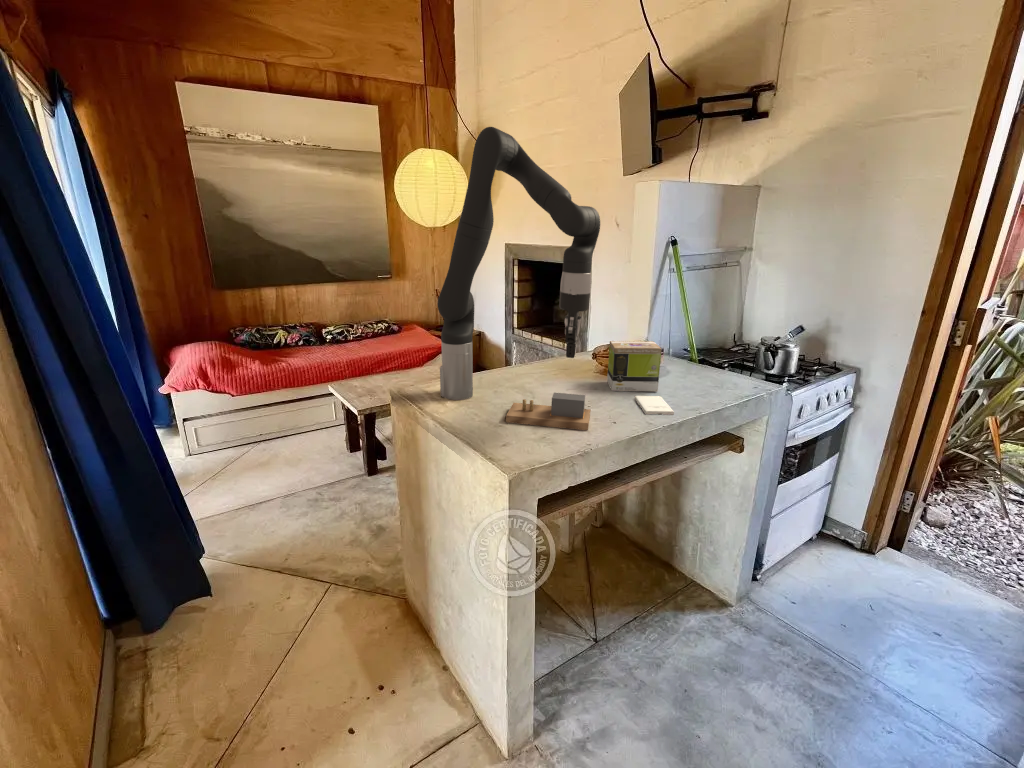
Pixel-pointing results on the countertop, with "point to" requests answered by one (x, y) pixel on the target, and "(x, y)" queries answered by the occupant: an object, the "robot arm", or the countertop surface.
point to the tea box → (634, 366)
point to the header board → (544, 416)
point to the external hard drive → (654, 405)
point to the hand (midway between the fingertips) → (570, 357)
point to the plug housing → (568, 405)
